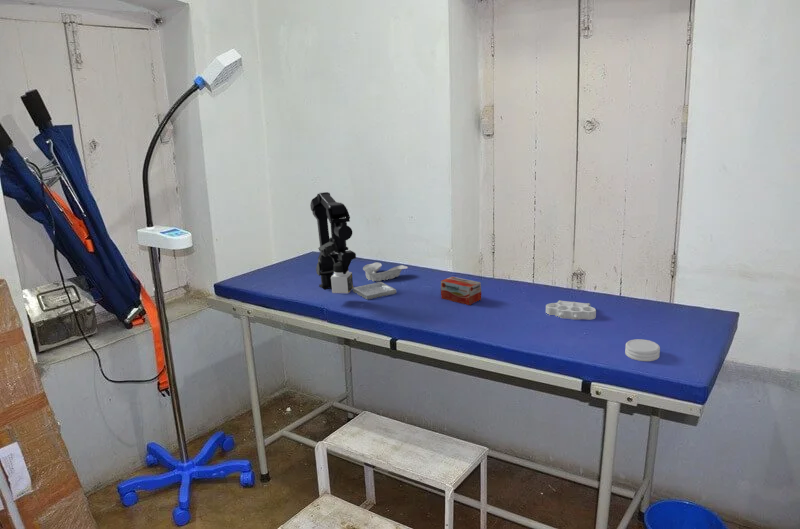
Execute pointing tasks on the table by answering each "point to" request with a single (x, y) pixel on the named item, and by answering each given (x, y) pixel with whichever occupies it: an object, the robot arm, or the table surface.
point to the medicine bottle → (341, 280)
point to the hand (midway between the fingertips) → (341, 272)
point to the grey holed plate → (571, 310)
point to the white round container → (642, 350)
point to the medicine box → (460, 290)
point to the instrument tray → (374, 290)
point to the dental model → (372, 275)
